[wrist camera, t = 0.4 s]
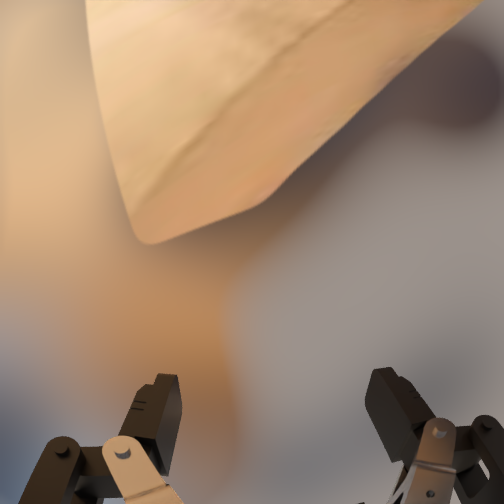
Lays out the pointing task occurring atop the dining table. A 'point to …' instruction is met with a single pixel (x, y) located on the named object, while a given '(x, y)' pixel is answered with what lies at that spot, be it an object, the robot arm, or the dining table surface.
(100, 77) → the dining table surface
